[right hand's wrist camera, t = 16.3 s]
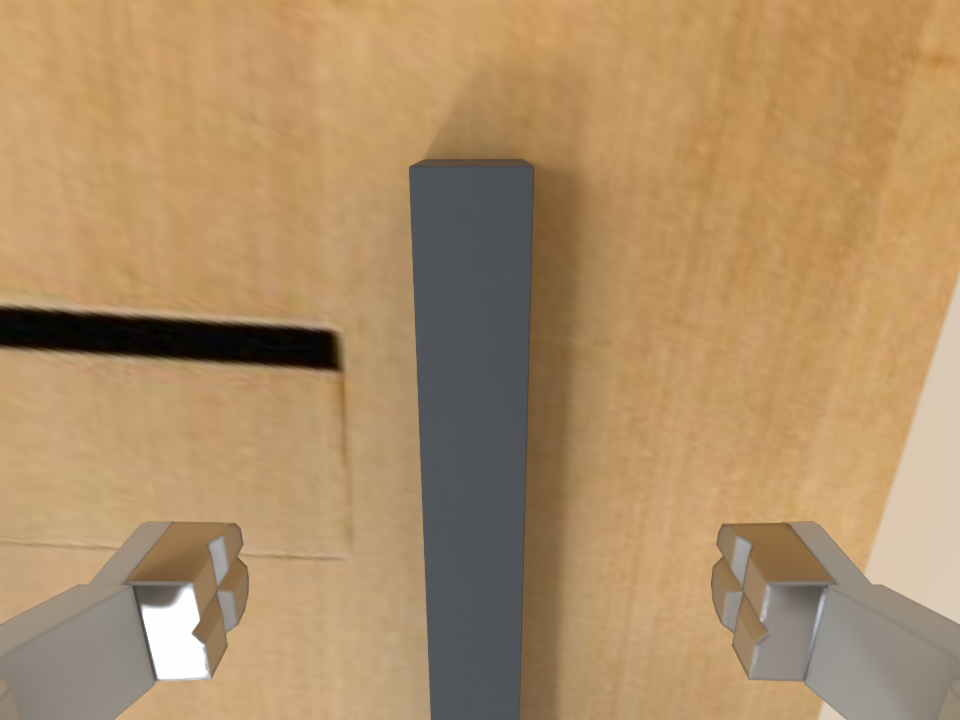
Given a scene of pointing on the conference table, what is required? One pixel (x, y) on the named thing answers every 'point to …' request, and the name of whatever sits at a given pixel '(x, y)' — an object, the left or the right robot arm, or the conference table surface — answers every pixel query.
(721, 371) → the conference table surface
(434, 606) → the post
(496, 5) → the conference table surface
